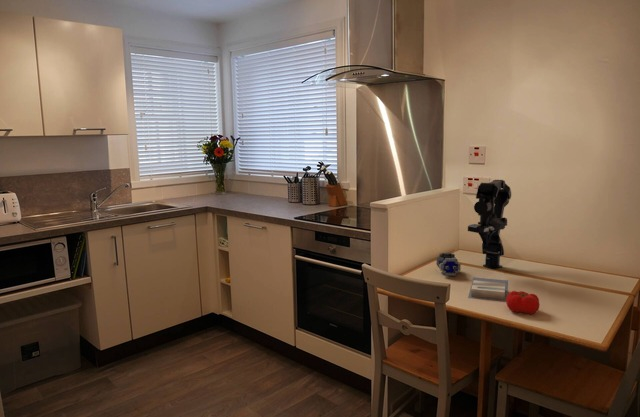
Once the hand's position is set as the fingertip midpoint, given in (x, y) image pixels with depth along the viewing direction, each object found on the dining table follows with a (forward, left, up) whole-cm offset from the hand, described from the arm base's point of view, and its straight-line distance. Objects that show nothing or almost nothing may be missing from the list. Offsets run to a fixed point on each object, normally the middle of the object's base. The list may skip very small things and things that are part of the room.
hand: (485, 245), depth 210 cm
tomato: (+27, +37, -13) cm, 48 cm away
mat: (+17, +15, -13) cm, 26 cm away
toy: (+14, -9, -13) cm, 21 cm away
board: (+17, +15, -11) cm, 25 cm away
